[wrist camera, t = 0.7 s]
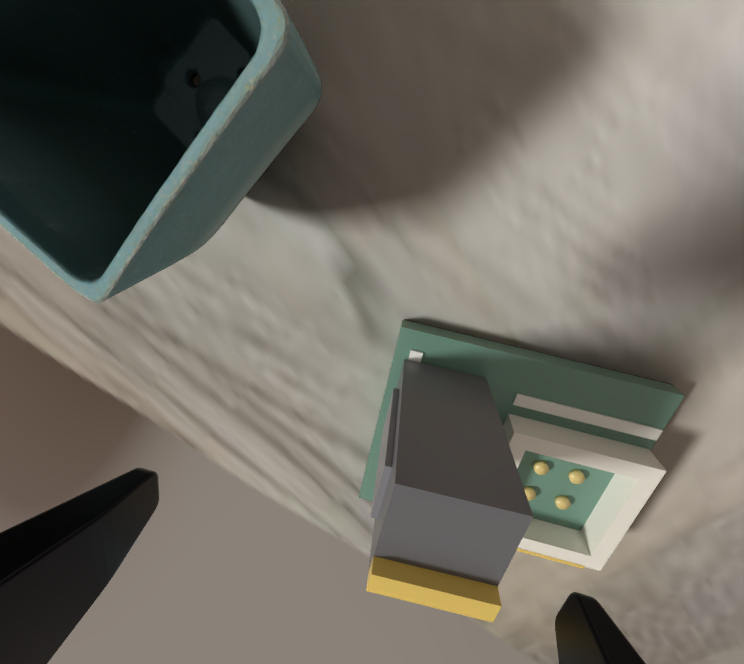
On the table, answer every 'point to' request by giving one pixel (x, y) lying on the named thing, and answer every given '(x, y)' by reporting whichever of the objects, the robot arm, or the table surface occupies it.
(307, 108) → the flower pot
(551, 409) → the header board
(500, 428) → the plug
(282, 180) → the table surface
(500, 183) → the table surface
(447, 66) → the table surface
